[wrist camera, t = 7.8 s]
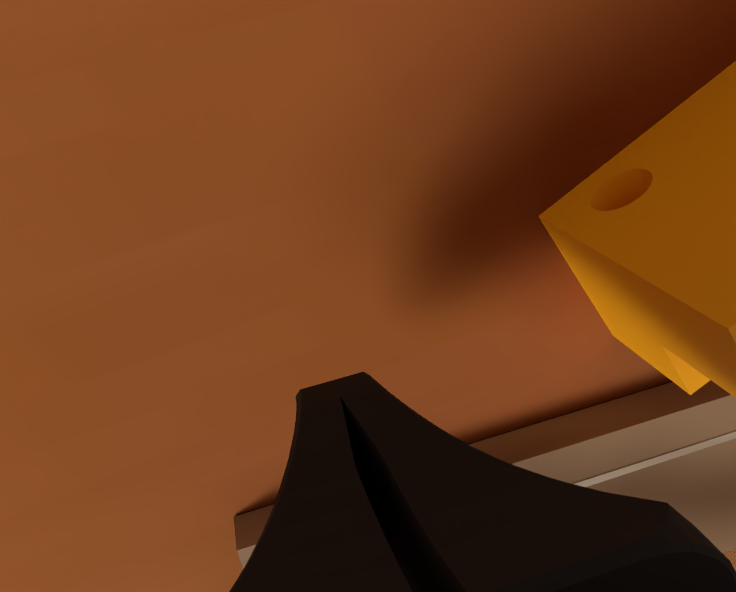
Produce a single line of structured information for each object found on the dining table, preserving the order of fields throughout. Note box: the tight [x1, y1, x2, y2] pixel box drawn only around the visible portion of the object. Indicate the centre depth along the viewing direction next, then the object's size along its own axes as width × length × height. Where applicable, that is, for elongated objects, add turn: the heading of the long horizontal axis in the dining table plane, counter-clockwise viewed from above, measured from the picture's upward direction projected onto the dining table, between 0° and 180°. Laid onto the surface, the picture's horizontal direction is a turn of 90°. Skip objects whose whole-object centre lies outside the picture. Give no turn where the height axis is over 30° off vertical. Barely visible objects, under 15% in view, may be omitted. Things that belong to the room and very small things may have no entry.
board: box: [234, 380, 736, 569], centre depth 19 cm, size 6×18×1 cm, turn 100°
